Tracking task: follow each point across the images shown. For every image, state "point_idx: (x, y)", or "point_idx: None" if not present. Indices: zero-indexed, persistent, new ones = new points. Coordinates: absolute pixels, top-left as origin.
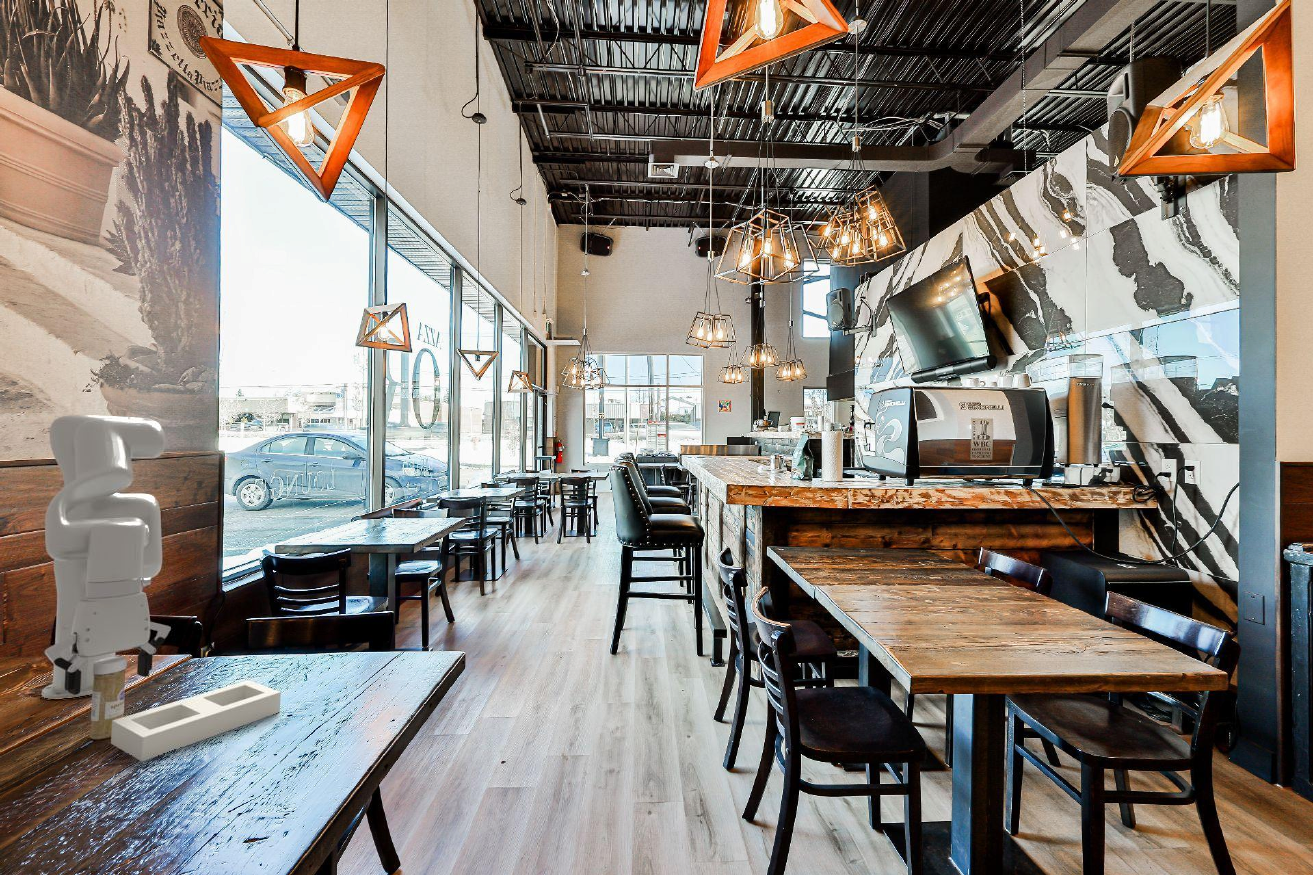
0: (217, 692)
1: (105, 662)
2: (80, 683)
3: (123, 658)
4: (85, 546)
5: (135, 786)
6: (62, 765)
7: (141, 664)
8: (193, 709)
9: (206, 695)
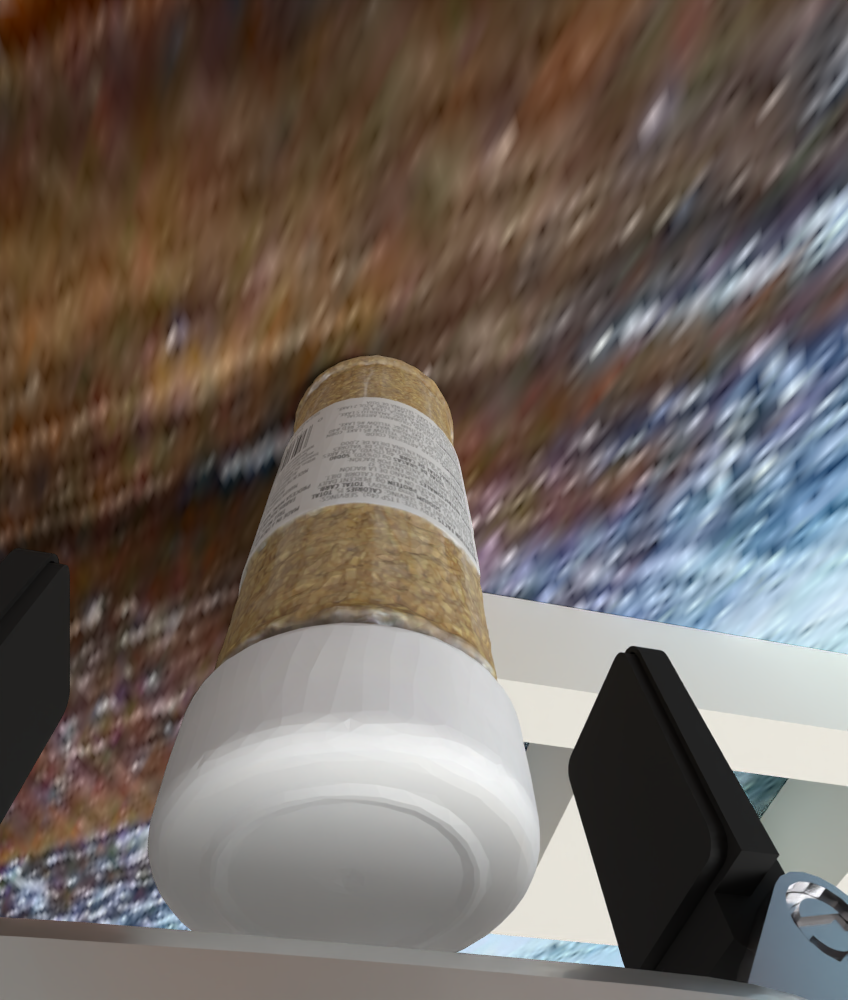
0: (789, 766)
1: (241, 933)
2: (21, 782)
3: (462, 935)
4: None
5: (163, 914)
6: (86, 589)
7: (628, 815)
8: (551, 846)
9: (736, 758)
